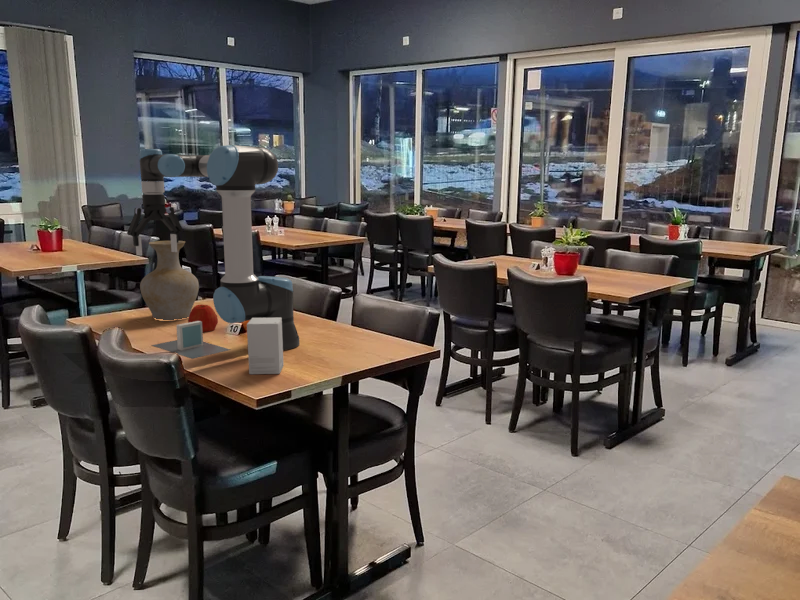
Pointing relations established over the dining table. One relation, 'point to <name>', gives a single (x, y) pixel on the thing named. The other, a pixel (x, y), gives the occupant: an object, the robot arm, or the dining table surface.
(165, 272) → the vase
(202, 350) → the slate board
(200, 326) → the tile
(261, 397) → the dining table surface
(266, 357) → the supplement box
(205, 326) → the apple
